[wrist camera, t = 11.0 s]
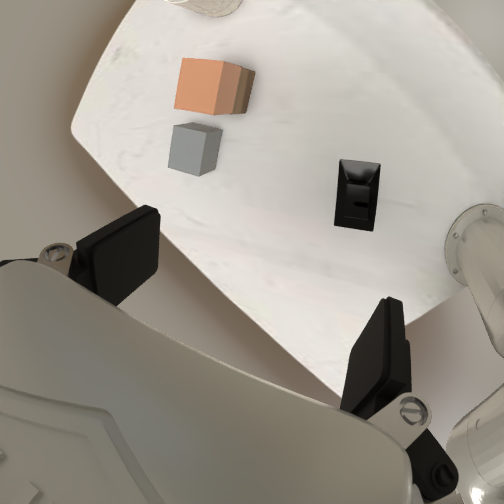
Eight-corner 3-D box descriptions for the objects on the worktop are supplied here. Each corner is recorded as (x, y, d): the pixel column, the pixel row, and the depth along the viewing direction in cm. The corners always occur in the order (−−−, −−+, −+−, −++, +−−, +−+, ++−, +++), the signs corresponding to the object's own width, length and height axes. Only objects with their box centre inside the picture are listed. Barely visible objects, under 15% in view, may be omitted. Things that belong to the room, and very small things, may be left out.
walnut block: (255, 71, 34) (241, 67, 30) (246, 113, 37) (231, 114, 33) (221, 66, 35) (204, 62, 31) (213, 106, 38) (195, 106, 34)
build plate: (376, 240, 40) (377, 254, 36) (326, 233, 42) (321, 246, 38) (387, 152, 34) (391, 156, 30) (332, 145, 36) (328, 149, 32)
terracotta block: (241, 66, 30) (223, 61, 26) (232, 113, 33) (213, 115, 29) (204, 62, 31) (182, 57, 27) (195, 106, 34) (173, 108, 30)
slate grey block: (223, 129, 39) (206, 133, 35) (215, 169, 42) (198, 176, 38) (192, 122, 40) (173, 125, 36) (186, 160, 43) (167, 167, 39)
